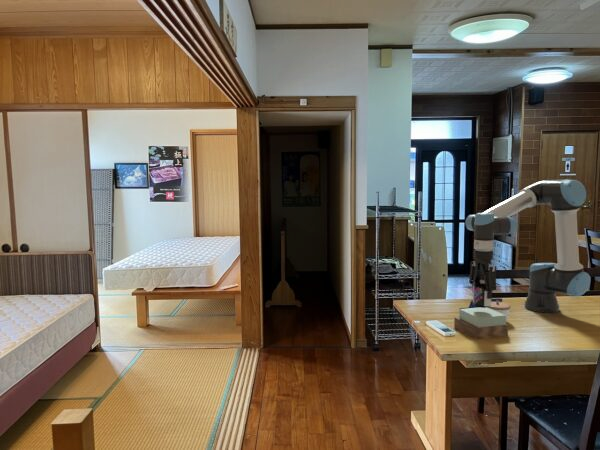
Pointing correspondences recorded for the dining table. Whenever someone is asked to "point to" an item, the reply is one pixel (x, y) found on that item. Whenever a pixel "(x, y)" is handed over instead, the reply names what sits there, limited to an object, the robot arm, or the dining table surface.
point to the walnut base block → (480, 329)
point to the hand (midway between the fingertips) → (481, 303)
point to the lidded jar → (500, 308)
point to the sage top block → (482, 317)
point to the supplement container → (479, 293)
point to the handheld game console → (478, 307)
